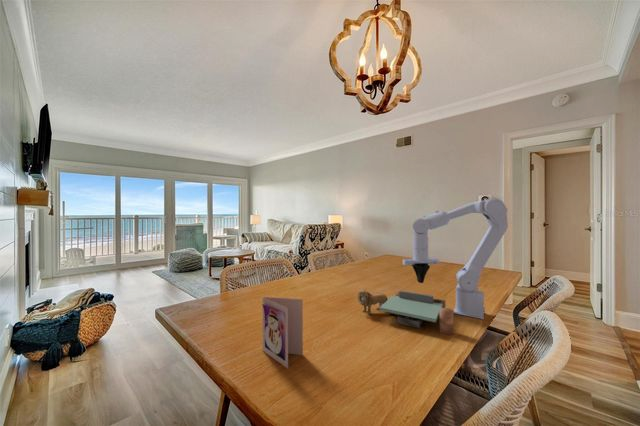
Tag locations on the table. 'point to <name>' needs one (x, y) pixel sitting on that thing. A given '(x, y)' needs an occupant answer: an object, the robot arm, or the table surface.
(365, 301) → the lion figurine
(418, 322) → the dark grey box base
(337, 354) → the table surface
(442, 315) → the key peg
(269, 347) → the greeting card
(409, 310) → the lid
